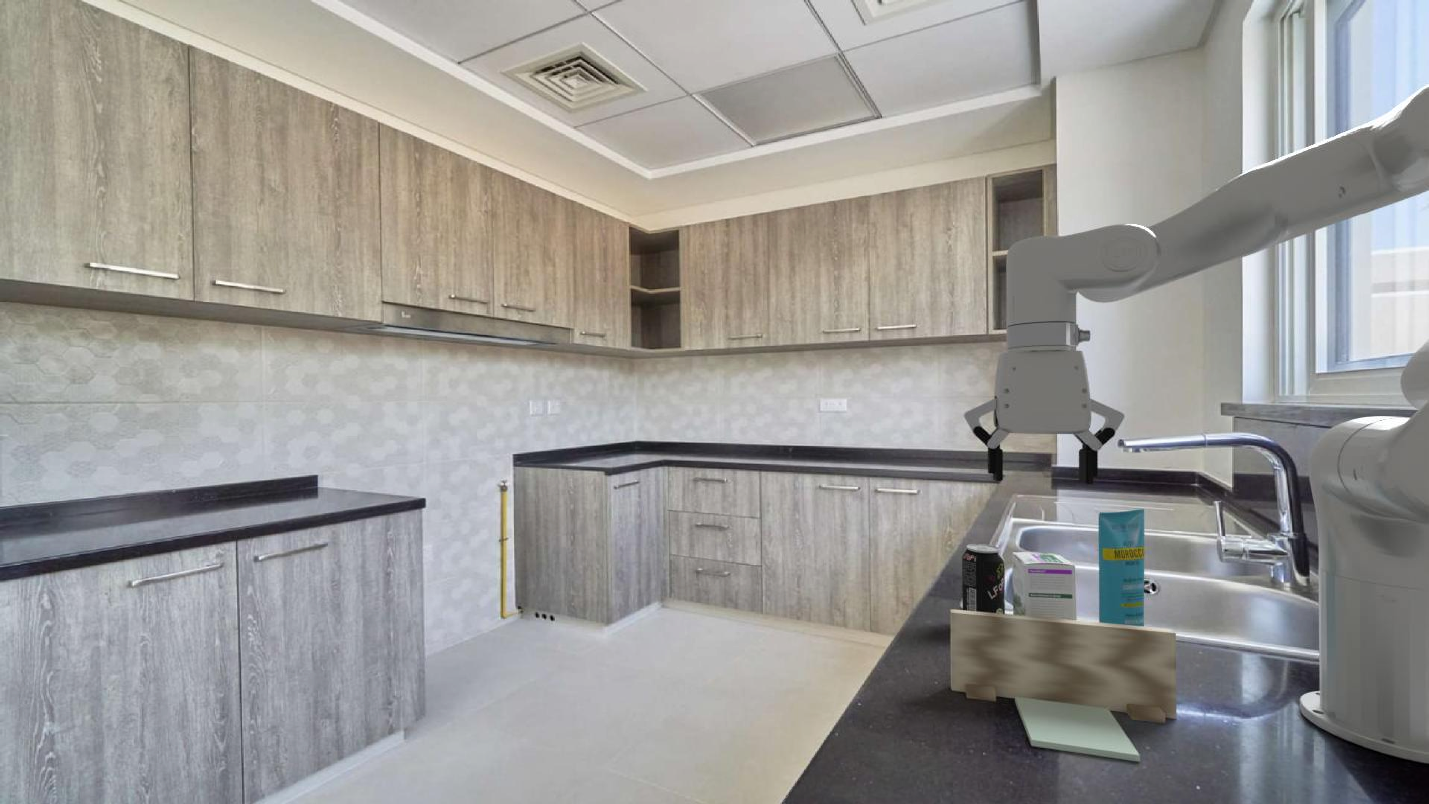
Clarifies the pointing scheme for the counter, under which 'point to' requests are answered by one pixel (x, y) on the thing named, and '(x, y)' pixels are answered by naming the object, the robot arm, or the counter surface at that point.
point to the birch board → (1065, 662)
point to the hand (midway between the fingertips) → (1040, 481)
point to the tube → (1121, 567)
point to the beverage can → (983, 579)
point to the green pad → (1074, 729)
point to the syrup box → (1043, 585)
